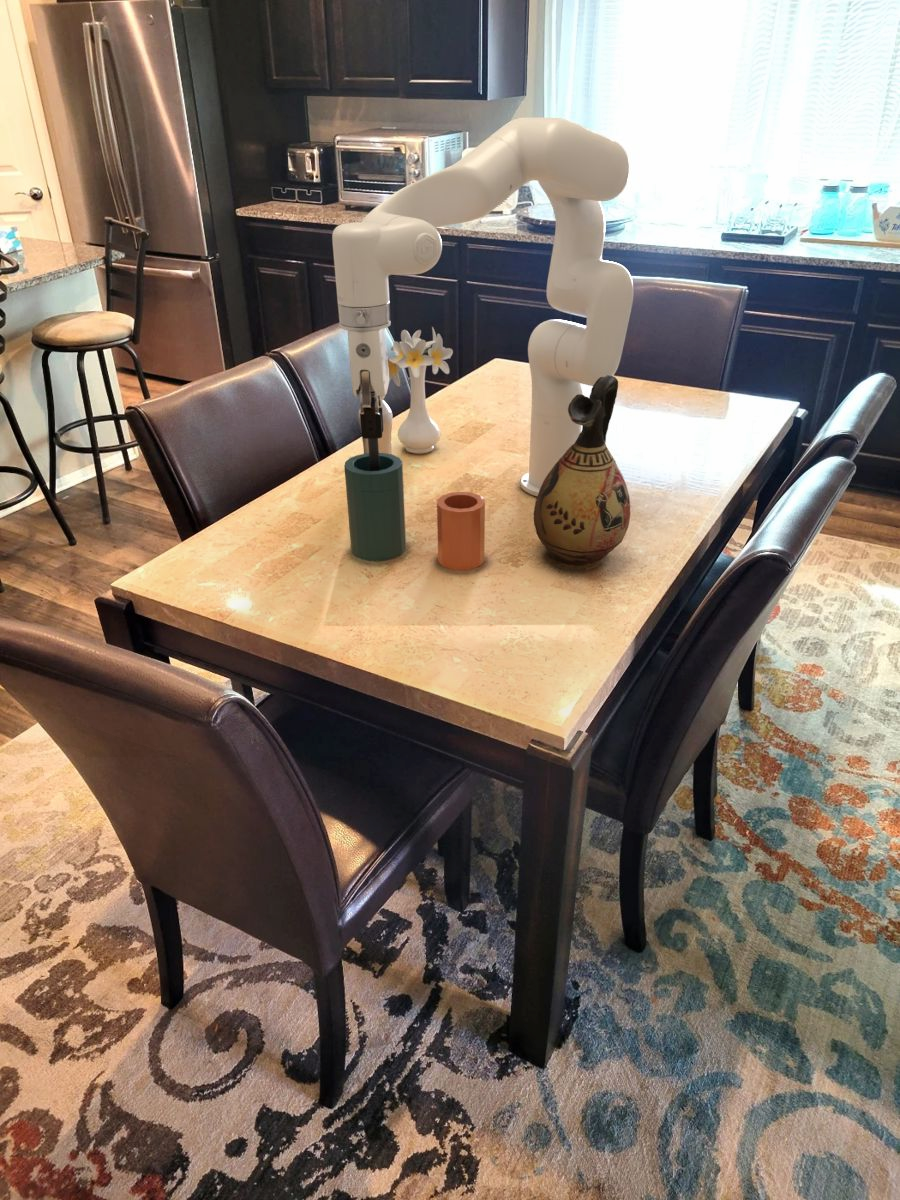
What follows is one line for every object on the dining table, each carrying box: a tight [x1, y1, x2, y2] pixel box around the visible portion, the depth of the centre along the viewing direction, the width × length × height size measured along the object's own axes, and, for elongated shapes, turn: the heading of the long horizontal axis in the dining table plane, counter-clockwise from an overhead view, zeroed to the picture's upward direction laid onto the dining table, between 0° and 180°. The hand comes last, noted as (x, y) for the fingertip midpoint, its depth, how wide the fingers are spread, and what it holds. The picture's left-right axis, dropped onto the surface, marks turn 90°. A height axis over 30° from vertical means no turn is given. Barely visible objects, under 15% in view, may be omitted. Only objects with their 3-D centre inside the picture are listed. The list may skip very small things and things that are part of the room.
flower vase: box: [387, 326, 454, 455], centre depth 178 cm, size 13×18×25 cm
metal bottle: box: [357, 395, 394, 455], centre depth 163 cm, size 6×7×20 cm
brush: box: [368, 438, 380, 471], centre depth 137 cm, size 3×3×22 cm
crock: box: [436, 491, 486, 571], centre depth 138 cm, size 8×8×11 cm
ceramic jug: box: [533, 375, 631, 571], centre depth 135 cm, size 17×15×30 cm
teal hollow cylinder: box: [344, 453, 407, 562], centre depth 140 cm, size 9×9×16 cm
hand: (372, 434), depth 134 cm, fingers closed on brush, 1 cm apart
